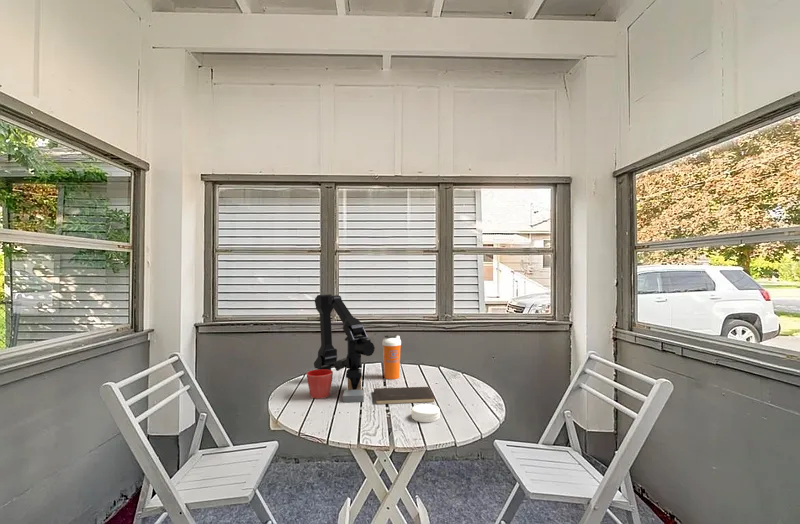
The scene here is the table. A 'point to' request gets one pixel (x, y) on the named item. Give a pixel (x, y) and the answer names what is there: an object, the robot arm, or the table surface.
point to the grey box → (353, 396)
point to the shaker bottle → (391, 356)
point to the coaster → (425, 413)
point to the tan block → (351, 385)
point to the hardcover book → (403, 395)
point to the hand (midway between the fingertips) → (354, 389)
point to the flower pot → (319, 383)
